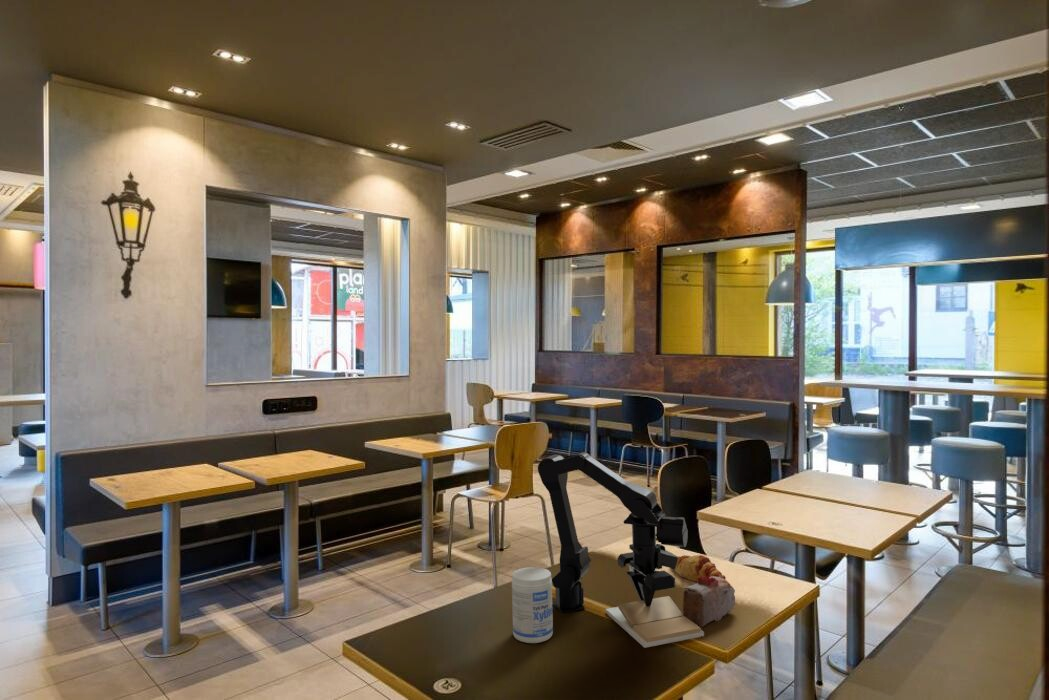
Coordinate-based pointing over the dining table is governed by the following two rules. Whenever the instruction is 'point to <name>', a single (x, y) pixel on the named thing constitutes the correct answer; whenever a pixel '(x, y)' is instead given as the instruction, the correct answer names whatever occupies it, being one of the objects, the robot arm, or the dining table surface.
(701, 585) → the food item
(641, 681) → the dining table surface
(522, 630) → the supplement tub
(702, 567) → the croissant
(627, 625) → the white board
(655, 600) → the click plank
